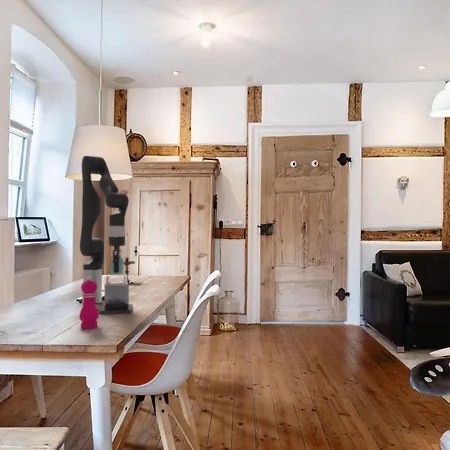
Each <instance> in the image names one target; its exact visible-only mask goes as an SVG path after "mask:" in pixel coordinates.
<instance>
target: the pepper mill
mask: <svg viewBox="0 0 450 450" xmlns="http://www.w3.org/2000/svg"><path fill="white" fill-rule="evenodd" d="M91 279H92V278H91V277H90V276H89V277H87V280H88V281H85V282H83V281H82V283H81V286H80V287H81V288H80V289H81V292H82V291H83V292H84V293H83V297H84V303H82V304H83V305H82V308H81V309H80V311H79V320H80V321H81V323H80V329H82V330H92V329H95V328H97V327H98V321H97V320H98V319H99V317H100V314H99V310H98V308H97V306H96V303H95V296H96V293H95V291H96V290H97V284H96V282H95V281H92V280H91Z"/></svg>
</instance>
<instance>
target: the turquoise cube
mask: <svg viewBox="0 0 450 450" xmlns="http://www.w3.org/2000/svg"><path fill="white" fill-rule="evenodd" d="M115 261H118V259H115ZM123 261H124V257H121V258H120V260H119V264H118V265H119V272H118V273H114V265H115V264H113V257H111V258H110V266H109V267H110V269H109V270H110V274H109V275H123V274H124V264H123Z"/></svg>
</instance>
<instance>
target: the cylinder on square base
mask: <svg viewBox="0 0 450 450" xmlns="http://www.w3.org/2000/svg"><path fill="white" fill-rule="evenodd" d="M129 285H130V284H127V275H126V274H124V275H123V280H121V281H120V280H119V281H118V280H117V281H111V274H107V275H106V276H105V284H104V304H102V306H101V307H100V309H99V310H98V314H99V315H115V314H116V315H119V314H123V315H124V314H132V312H133V311H132V310H133V307H134V305H133V304H132V303H129V301H130V296H129V295H130V292H129V291H130V287H129Z"/></svg>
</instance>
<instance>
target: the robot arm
mask: <svg viewBox="0 0 450 450" xmlns="http://www.w3.org/2000/svg"><path fill="white" fill-rule="evenodd" d="M92 175H100V179H99V182H98V183H99V187H100V190H101V192H102V193H103V194H104V195H103V196H104V200H105V201H104V202H105V205H106V206H107V207H108V208H110V209H118V210H117V212H114V213H113V212H112V213H110V214H109V218H108V219H109V220H108V221H109V222H108V223H109V224H108V225H109V226H108V227H109V228H108V245H109V246H110V247H113V249H112V250H111V251H112V258H113V264H115V265H114V273H118V272H119V265H118V264H119V260H120V258H122V249H121V247H124V246H125V247H126V225H125V224H126V219H125V218H126V214H127V209H128V207H129V202H130V200H129V196H128V195H127V194H125V193H120V192H119V188H118V186H117V184H116V183H115V181H114V180H113V178H112V176H111V173H110V170H109V167H108V165H107V162H106V161H105V159H104V157H102V156H98V155H89V154H86V155H83V157H82V159H81V179H82V197H81V198H82V202H81V206H82V207H81V209H82V210H81V231H80V238H79V239H80V240H79V250H80V254H81V255H82V256H83V257H90V258H89V260H88V261H86V262H84V263H83V266H82V271H83V274H82V283H83V282H85V281H88V280H87V277H89V276H90V277H91V278H92V279H91V280H92V281H95V282H96V284H97V290H96V291H95V293H96V296H95V304H101V303H102V302H103V292H102V291H103V264H104V260H105V259H104V258H105V257H104V256H105V243H104V241H103V239H102V238H100V237H93V231H94V230H93V229H94V227H95V225H96V223H97V222H98V220H99V218H100V215H101V213H102V200H101V196H100V195H99V193H98V192H97V189H96V188H95V186H94V183H93V180H92ZM115 259H118V261H115ZM81 292H82V293H81V294H82V298H81V299H82V301H81V303H82V304H83V303H84V297H83V293H84V292H83V291H82V290H81Z"/></svg>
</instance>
